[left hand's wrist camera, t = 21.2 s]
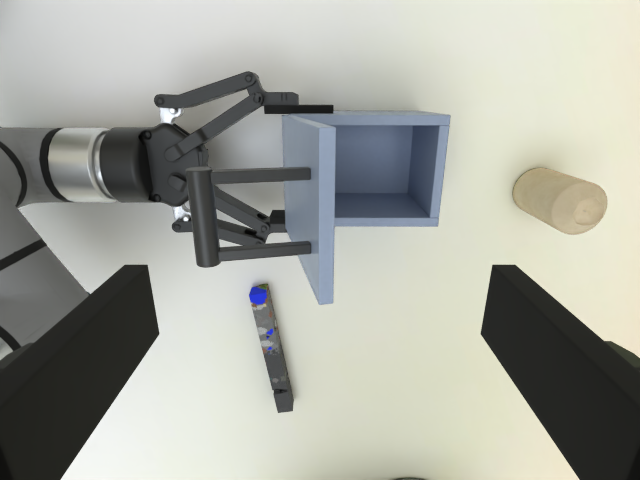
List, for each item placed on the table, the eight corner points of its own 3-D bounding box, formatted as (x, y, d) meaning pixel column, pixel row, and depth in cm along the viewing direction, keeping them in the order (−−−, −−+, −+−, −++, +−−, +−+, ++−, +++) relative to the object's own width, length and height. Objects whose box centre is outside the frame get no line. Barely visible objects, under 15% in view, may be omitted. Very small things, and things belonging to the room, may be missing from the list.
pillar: (278, 412, 56) (248, 292, 49) (279, 401, 58) (251, 285, 51) (292, 411, 56) (265, 290, 49) (293, 400, 58) (267, 282, 51)
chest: (420, 111, 44) (450, 115, 33) (412, 198, 47) (437, 226, 37) (295, 110, 44) (287, 114, 34) (297, 198, 47) (290, 226, 37)
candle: (507, 210, 48) (553, 238, 38) (518, 166, 46) (569, 183, 36) (551, 212, 48) (607, 241, 38) (563, 168, 46) (626, 186, 37)
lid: (336, 127, 20) (173, 129, 18) (333, 303, 23) (197, 318, 22) (292, 115, 33) (197, 115, 32) (294, 227, 37) (209, 233, 35)
